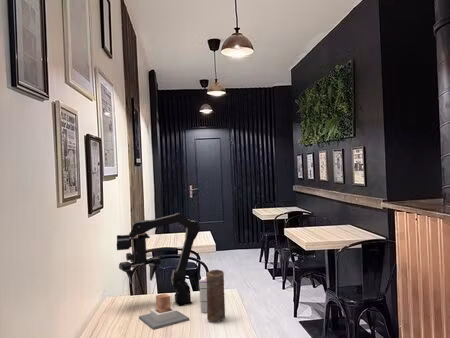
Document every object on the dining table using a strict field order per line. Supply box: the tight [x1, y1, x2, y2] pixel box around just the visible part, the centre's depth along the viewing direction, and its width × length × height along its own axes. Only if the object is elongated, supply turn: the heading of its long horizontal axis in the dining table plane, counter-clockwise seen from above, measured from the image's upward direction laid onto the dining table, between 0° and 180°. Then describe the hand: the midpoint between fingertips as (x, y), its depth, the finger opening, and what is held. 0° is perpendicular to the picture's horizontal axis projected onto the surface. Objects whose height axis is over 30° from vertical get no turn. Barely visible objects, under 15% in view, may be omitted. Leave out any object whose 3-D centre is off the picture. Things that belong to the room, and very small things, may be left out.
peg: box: [155, 293, 172, 313], centre depth 174 cm, size 4×4×9 cm
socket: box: [138, 306, 190, 330], centre depth 174 cm, size 16×16×4 cm
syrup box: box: [198, 276, 207, 314], centre depth 182 cm, size 6×6×14 cm
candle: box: [206, 269, 226, 323], centre depth 170 cm, size 8×7×20 cm
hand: (141, 282), depth 190 cm, fingers open, 9 cm apart
